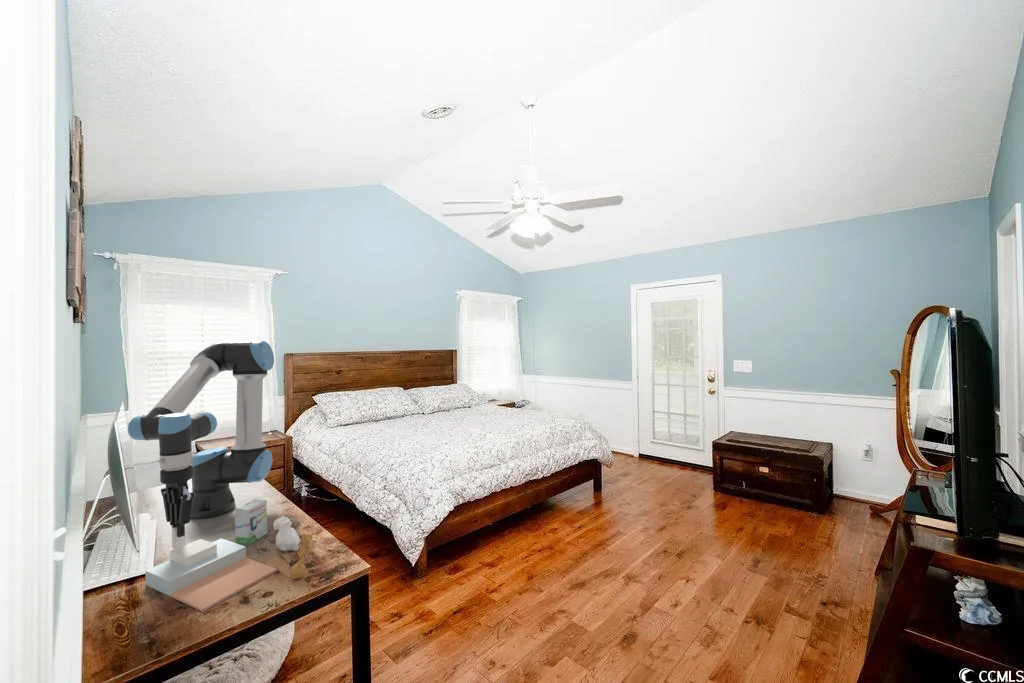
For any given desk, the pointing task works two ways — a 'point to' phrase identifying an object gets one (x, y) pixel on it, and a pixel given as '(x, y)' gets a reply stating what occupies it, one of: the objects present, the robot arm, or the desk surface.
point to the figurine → (299, 568)
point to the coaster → (193, 552)
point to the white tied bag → (286, 535)
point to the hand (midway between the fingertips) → (178, 546)
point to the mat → (223, 584)
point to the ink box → (250, 521)
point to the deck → (193, 568)
